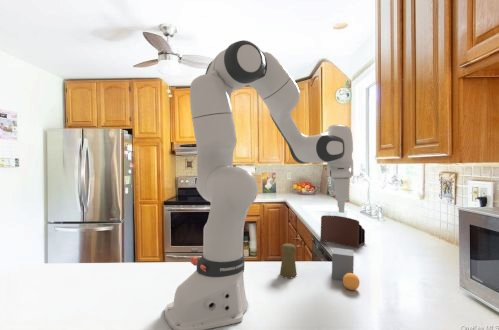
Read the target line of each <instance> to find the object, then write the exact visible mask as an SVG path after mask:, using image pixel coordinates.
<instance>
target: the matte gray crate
mask: <svg viewBox="0 0 499 330" xmlns="http://www.w3.org/2000/svg"><path fill="white" fill-rule="evenodd" d="M331 252H332V253H331V279H333V280H338V281H339V280H340V281H343V277H344V276H345V275H346V274H347V273H353V274H354V265H355V264H354V261H355V260H354V259H355V258H354V256H355V255H354V254H355V253H354V249H347V248H338V247H337V248H336V247H333V248H332V251H331Z"/></svg>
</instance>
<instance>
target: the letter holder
mask: <svg viewBox="0 0 499 330" xmlns="http://www.w3.org/2000/svg"><path fill="white" fill-rule="evenodd" d="M365 236H366V230H365V228H363V226H362V225H361V224H360V221H359V220H357V219H354V218H351V217H346V216H340V215H331V214H330V215H329V214H328V215H326V214H325V215H322V216H321V217H320V238H319V239H320V241H323V242H329V243H331V244H332V243H333V244H338V245H341V246H348V247H350V248H351V247H352V248H356V249H359V248H361V247H362V246H363V245H365V244H366V237H365Z"/></svg>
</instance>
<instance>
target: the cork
mask: <svg viewBox="0 0 499 330" xmlns="http://www.w3.org/2000/svg"><path fill="white" fill-rule="evenodd" d="M296 252H297V247H296V245H294V244H293V243H283V244H282V246H281V253H282V257H281V262H280V263H281V264H280V271H279V276H280V277H282V276H283V277H282V278H284V277H287V278H286V279H292V278H291V277H295V276H296V275H297V265H296V257H295V254H296ZM297 276H298V275H297ZM297 276H296V277H297ZM296 277H295V278H296Z"/></svg>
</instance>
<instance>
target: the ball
mask: <svg viewBox="0 0 499 330" xmlns="http://www.w3.org/2000/svg"><path fill="white" fill-rule="evenodd" d="M342 282H343V283H342V284H343V286H344V287H345V288H346V289H347V290H351V291H354V290H356V289H358V288H359V286H360V278H359V277H358V275H356V274H355V273H354V272H353V273H347V274H346V275H345V276H344V277H343V280H342Z"/></svg>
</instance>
